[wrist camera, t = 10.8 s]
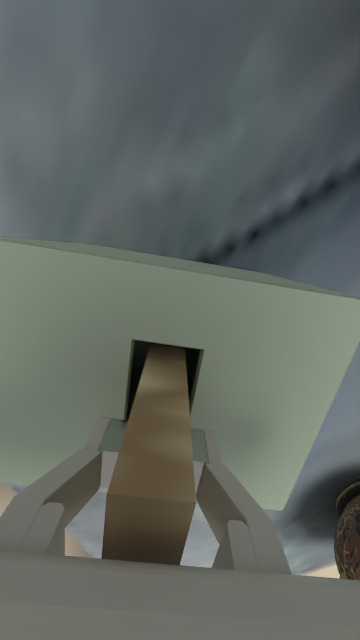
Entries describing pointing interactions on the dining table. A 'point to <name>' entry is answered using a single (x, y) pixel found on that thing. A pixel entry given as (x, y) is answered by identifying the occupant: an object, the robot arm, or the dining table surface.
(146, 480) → the wooden domino
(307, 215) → the dining table surface
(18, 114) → the dining table surface
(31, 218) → the dining table surface
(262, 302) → the slot box
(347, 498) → the ceramic bowl
